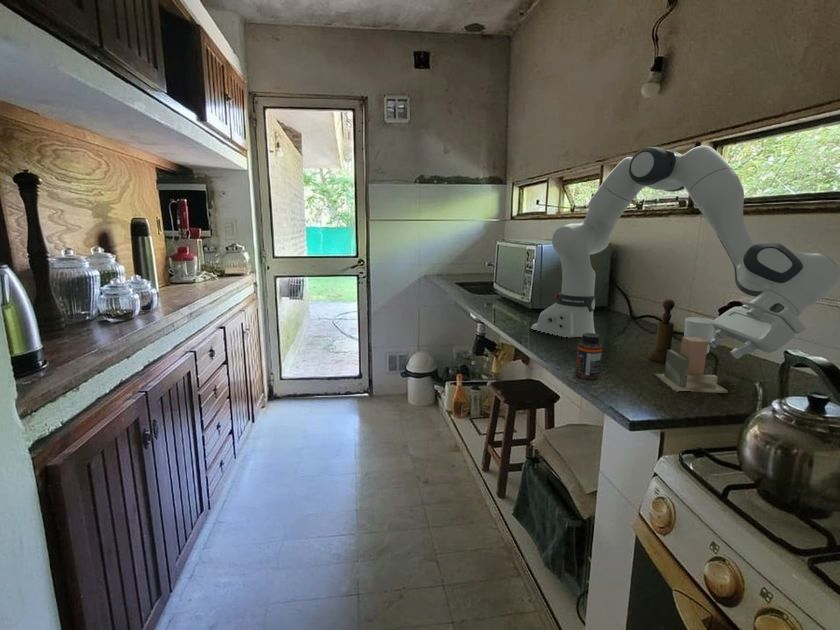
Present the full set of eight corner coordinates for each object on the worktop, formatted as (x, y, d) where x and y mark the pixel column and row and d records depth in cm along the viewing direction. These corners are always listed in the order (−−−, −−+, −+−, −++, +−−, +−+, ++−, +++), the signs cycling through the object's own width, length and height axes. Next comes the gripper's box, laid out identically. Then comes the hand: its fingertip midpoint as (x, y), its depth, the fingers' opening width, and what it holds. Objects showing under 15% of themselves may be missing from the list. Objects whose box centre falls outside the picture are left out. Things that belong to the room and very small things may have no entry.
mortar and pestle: (644, 357, 131) (650, 298, 127) (659, 355, 133) (666, 296, 130) (664, 364, 125) (671, 302, 121) (679, 361, 127) (687, 300, 124)
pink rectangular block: (693, 379, 112) (698, 337, 109) (701, 384, 108) (708, 341, 105) (676, 378, 112) (682, 337, 110) (684, 384, 108) (690, 341, 106)
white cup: (715, 355, 133) (720, 323, 131) (686, 354, 134) (691, 322, 132) (704, 348, 140) (708, 318, 138) (677, 347, 142) (681, 316, 140)
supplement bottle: (571, 372, 118) (574, 331, 115) (592, 372, 118) (596, 331, 116) (581, 380, 112) (584, 337, 109) (603, 379, 112) (607, 337, 110)
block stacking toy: (702, 376, 115) (706, 349, 113) (727, 392, 104) (732, 362, 102) (654, 375, 116) (657, 348, 114) (675, 391, 105) (679, 361, 103)
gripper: (734, 295, 114) (690, 331, 117) (793, 310, 94) (738, 353, 97) (749, 312, 115) (705, 347, 117) (811, 331, 95) (756, 373, 97)
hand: (721, 350), depth 107 cm, fingers open, 8 cm apart
